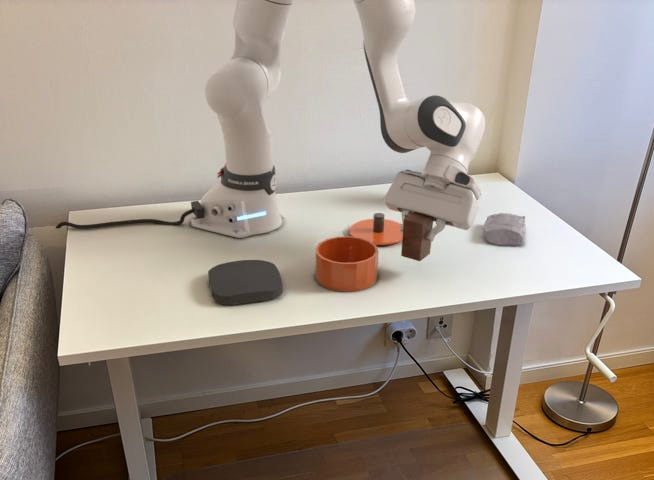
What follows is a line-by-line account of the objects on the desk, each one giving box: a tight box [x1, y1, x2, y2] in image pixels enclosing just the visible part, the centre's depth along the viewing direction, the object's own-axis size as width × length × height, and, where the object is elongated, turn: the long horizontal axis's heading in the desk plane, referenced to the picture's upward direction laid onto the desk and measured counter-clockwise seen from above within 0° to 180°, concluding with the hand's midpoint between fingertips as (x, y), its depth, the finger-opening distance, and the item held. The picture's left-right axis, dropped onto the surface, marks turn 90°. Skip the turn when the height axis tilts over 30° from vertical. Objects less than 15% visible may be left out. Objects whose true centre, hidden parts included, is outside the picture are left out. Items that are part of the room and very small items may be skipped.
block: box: [400, 212, 434, 262], centre depth 153 cm, size 5×5×8 cm
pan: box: [314, 235, 379, 293], centre depth 154 cm, size 13×13×6 cm
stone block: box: [482, 212, 526, 247], centre depth 173 cm, size 12×5×10 cm
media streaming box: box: [207, 259, 284, 306], centre depth 151 cm, size 15×15×3 cm
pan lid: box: [348, 212, 403, 246], centre depth 172 cm, size 14×14×5 cm
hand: (416, 236), depth 152 cm, fingers closed on block, 4 cm apart
